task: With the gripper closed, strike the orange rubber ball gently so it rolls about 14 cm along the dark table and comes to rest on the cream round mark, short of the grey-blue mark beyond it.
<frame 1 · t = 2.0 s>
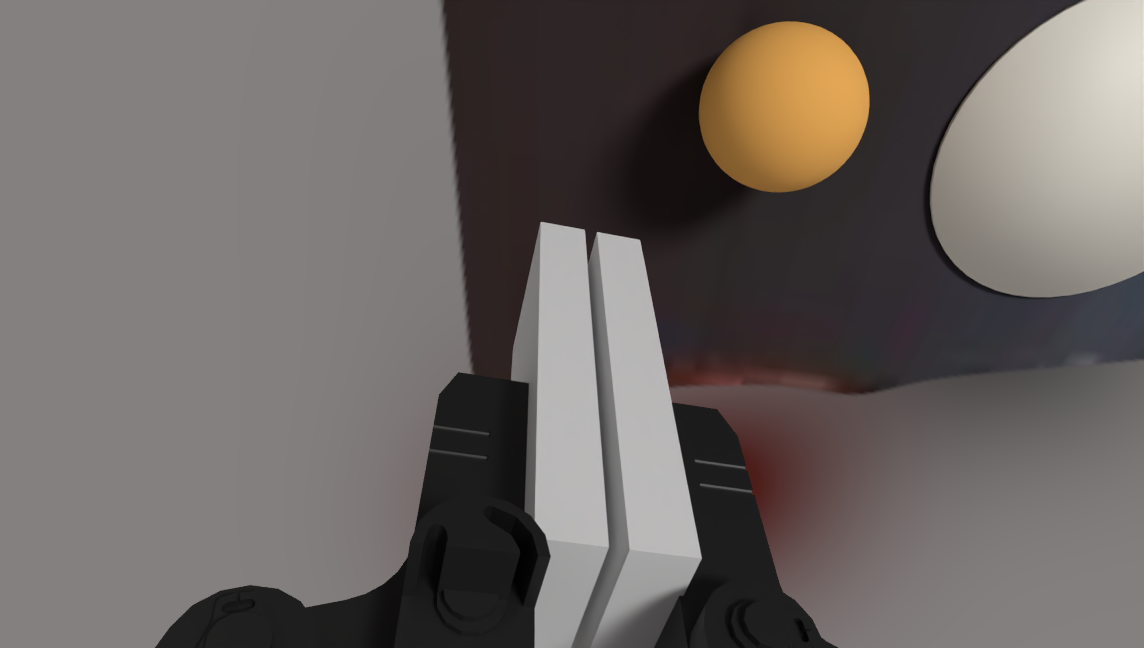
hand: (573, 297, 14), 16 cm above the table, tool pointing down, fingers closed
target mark: (1100, 156, 30), on the table
ball: (781, 109, 26), on the table
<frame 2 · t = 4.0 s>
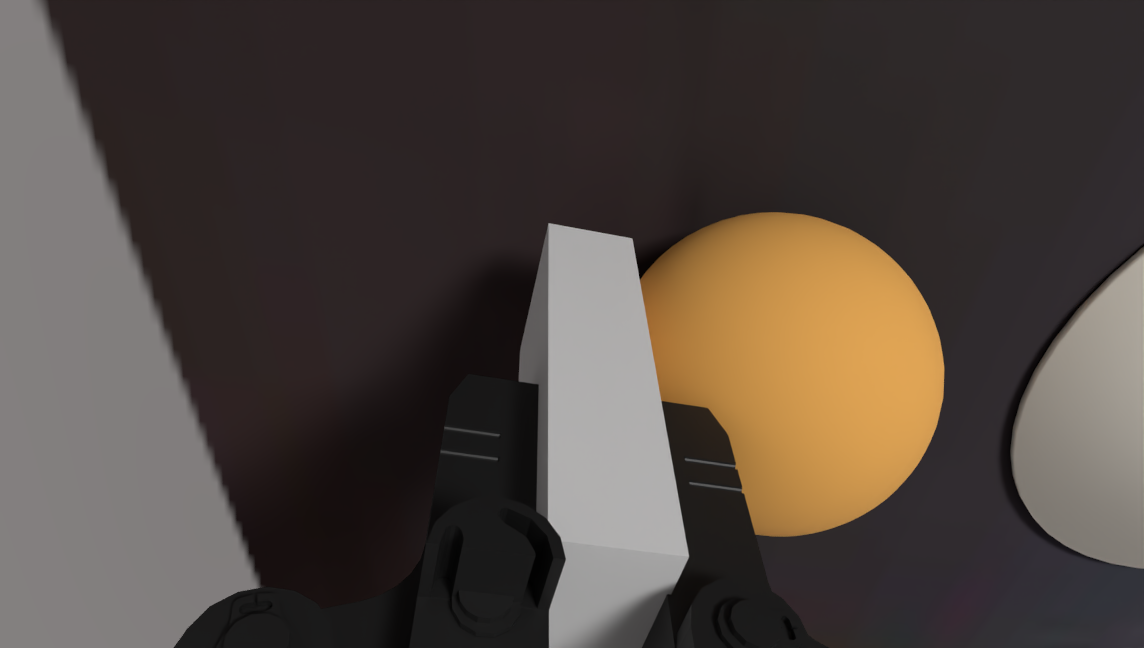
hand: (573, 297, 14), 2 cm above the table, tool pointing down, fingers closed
ball: (768, 372, 13), on the table, touching gripper
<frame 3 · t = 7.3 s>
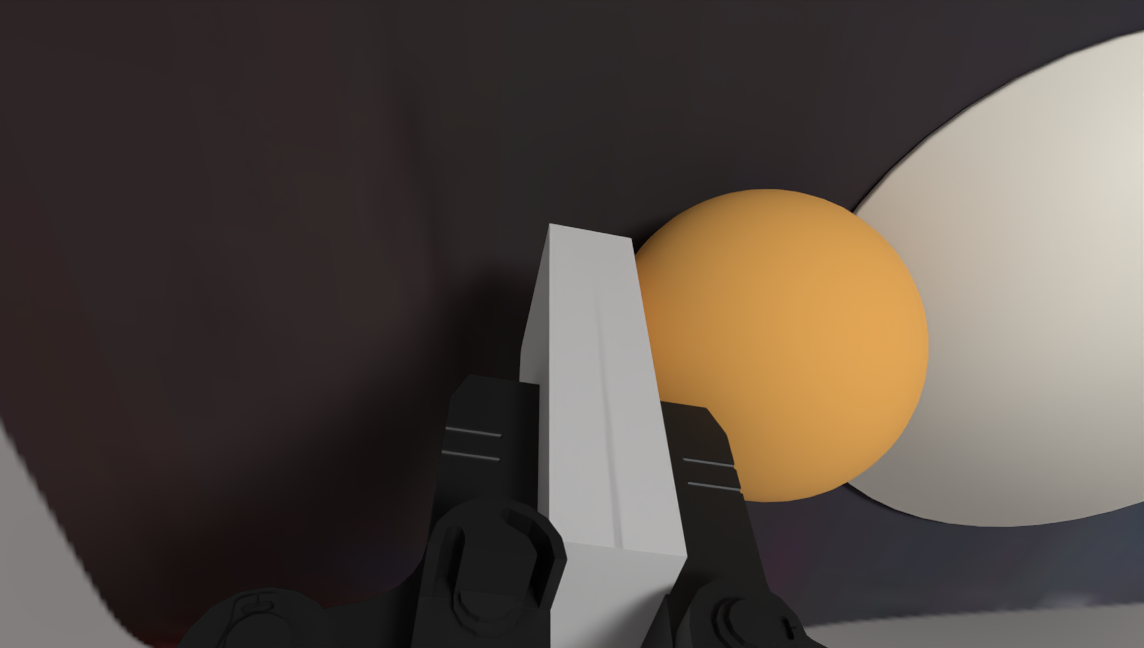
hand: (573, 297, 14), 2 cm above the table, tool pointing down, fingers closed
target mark: (1091, 325, 17), on the table
ball: (759, 344, 14), on the table, touching gripper
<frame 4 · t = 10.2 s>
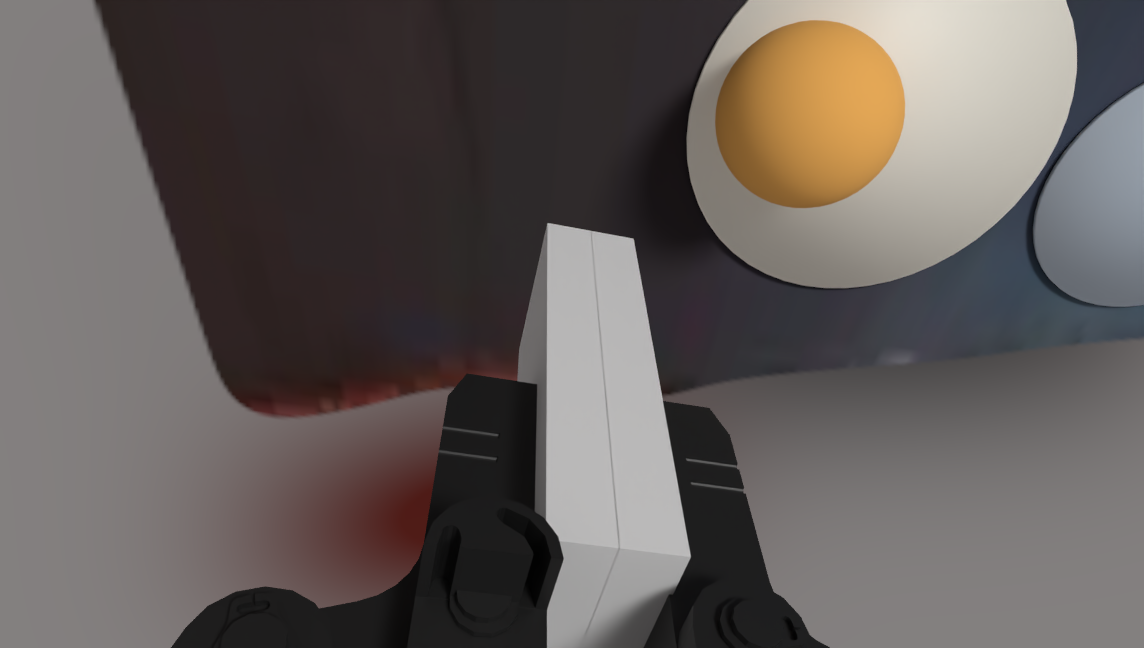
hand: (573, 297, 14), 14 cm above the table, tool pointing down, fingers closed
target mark: (874, 127, 27), on the table
ball: (806, 117, 23), resting on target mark
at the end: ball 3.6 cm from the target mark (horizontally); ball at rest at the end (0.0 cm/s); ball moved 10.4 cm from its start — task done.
